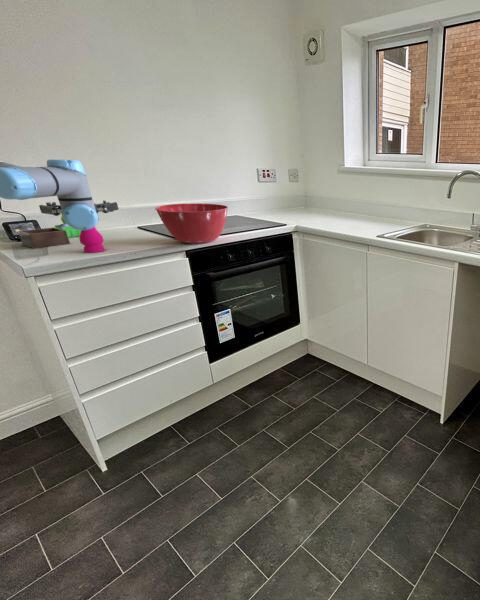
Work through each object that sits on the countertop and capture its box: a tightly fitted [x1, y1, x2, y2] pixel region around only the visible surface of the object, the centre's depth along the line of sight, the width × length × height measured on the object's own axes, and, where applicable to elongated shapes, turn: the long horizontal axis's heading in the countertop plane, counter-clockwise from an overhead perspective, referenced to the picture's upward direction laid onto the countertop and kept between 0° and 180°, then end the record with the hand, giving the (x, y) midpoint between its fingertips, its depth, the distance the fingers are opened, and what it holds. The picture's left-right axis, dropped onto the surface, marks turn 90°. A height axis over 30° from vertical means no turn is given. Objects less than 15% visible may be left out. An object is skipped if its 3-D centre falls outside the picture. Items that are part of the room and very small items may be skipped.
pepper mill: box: [78, 226, 106, 254], centre depth 136 cm, size 7×7×20 cm
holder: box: [17, 226, 71, 249], centre depth 146 cm, size 12×12×6 cm
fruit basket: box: [54, 213, 81, 238], centre depth 162 cm, size 11×9×11 cm
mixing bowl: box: [154, 203, 229, 245], centre depth 159 cm, size 28×28×15 cm
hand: (81, 205), depth 126 cm, fingers open, 13 cm apart
